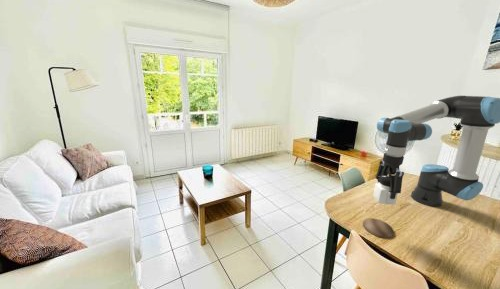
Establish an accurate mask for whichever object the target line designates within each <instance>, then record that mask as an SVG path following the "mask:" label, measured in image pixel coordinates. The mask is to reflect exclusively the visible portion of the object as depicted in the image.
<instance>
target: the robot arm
mask: <svg viewBox="0 0 500 289" xmlns="http://www.w3.org/2000/svg"><path fill="white" fill-rule="evenodd" d="M443 118H451V119H452V118H454V119H459V120H460V123H459V124H460V125H461V126H462V132H461V136H460V139H459V143H458V147H457V151H456V156H455V158H454V164H453V168H452V169H450V168H449V167H447V166H445V165H440V164H431V163H429V164H424V165H422V167H421V169H420V173H419V177H418V181H417V185H416V186H415V187H414V189H413V190H412V191H411V193H410V198H412V199H413V200H414V201H416V202H417V203H420V204H422V205H426V206H430V207H440V206H442V205H443V201H444V200H443V194H442V193H443V192H444V193H446V194H448V195H451V196H453V197H455V198H458V199H461V200H463V201H471V200H473V199H475V198H476V197H478V196H479V194H480V193H481V192H482V190H483V188H484V184H483V183H482V182H481V181H479V180H480V176H479V175H478V174H477V172H478V171H477V170H478V166H479V163H480V161H481V157H482V153H483V150H484V146H485V144H486V143H485V142H486V139H487V136H488V133H489V130H490V129H491V128H494V127H495V126H496V125H497V124H499V123H500V97H492V96H483V95H482V96H481V95H480V96H479V95H478V96H476V95H474V96H473V95H455V96H449V97H446V98H445V97H444V98H442V99H441V98H440V99H439V100H435V101H433V102H431V103H430V105H426V106H424V107H420V108H418V109H415V110H412V111H409V112H407V113H406V112H405V113H403V114H401V115H397V116H395V117H391V118H389V117H381V118H380V119H379V120H377V122H376V129H377V130H378V132H380V133H384V134H387V139H386V143H385V147H384V153H383V156H382V160H380V161H379V166H378V169H377V172H376V175H375V179H376V180H377V183H380V179H381V177H382V176H389V177H390V191H389V193H388V197H387V202H386V204H385V205H391V204H393V202H394V199H395V196H396V193H398V194H401V193H402V185H403V177H404V174H405V172H404V171H401V170H400V166H401V165H403V162H404V159H405V158H404V156H405V155H406V151H407V147H408V143H409V142H412V141H415V142H417V141H423V140H424V141H425V140H427V139H429V138H430V137H431V136H432V134H433V128H432V126H430V124H428V123H426V122H429V121H432V120H435V119H439V120H440V119H443ZM495 124H496V125H495ZM393 189H394V190H393Z"/></svg>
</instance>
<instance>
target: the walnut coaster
mask: <svg viewBox="0 0 500 289" xmlns="http://www.w3.org/2000/svg"><path fill="white" fill-rule="evenodd" d="M362 226H363V229H364V230H366V231H367V232H368V233H369V234H371V235H374V236H375V237H379V238H385V239H387V238H391V237H392V236H393V235H394V229H393V227H392V226H391V225H390V224H389V223H387V222H385V221H383V220H381V219H377V218H371V217H370V218H366V219H364V221H363V223H362Z"/></svg>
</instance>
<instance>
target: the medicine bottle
mask: <svg viewBox="0 0 500 289" xmlns="http://www.w3.org/2000/svg"><path fill="white" fill-rule="evenodd" d="M393 190H394V189H393ZM389 191H390V177H389V175H387V176H382V177H381V179H380V183H378V182H376V183H375V185H374V190H373V195H372V196H373V197H374V199H375V201H376V202H377V203H378V204H382V205H383V204H384V205H387V204H386V202H387V197H388V193H389ZM398 195H399V193H396V196H395V199H394V202H393V204H390V205H392V206H394V205H396V203H397V198H398Z"/></svg>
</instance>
